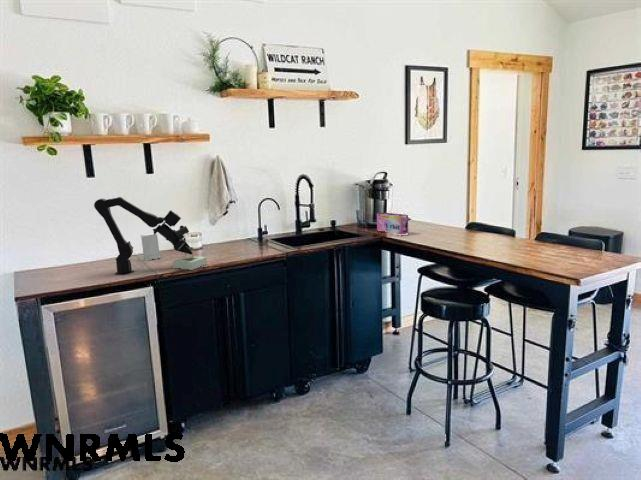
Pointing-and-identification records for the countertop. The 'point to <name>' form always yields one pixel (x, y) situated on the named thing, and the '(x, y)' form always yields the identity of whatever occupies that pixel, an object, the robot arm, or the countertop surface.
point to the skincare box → (150, 246)
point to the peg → (189, 255)
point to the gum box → (392, 223)
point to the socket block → (189, 263)
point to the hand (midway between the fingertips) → (191, 252)
